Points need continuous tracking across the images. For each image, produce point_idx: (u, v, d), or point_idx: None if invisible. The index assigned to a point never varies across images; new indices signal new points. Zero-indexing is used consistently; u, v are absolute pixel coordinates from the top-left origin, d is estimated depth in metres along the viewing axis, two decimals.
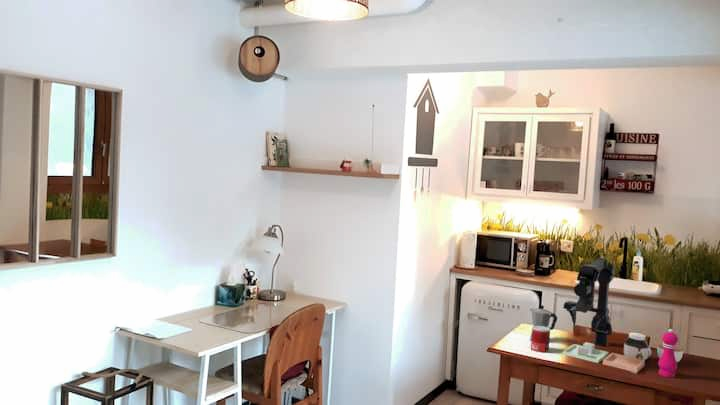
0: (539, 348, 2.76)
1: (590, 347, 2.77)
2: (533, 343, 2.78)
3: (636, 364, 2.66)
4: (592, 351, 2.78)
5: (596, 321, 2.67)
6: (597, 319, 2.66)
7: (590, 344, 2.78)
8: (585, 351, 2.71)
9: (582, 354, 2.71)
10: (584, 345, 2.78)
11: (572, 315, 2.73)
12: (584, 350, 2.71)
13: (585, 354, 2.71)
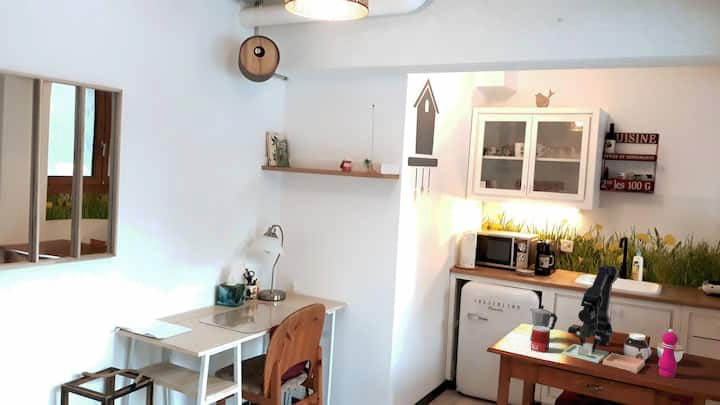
0: (539, 348, 2.76)
1: (590, 347, 2.77)
2: (533, 343, 2.78)
3: (636, 364, 2.66)
4: None
5: (594, 344, 2.76)
6: (595, 342, 2.76)
7: (590, 344, 2.78)
8: (585, 351, 2.71)
9: (582, 354, 2.71)
10: (584, 345, 2.78)
11: (581, 340, 2.80)
12: (584, 350, 2.71)
13: (585, 354, 2.71)
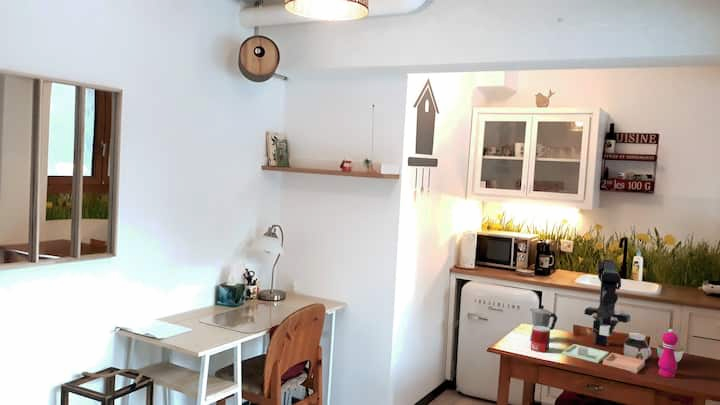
0: (539, 348, 2.76)
1: (607, 329, 2.70)
2: (533, 343, 2.78)
3: (636, 364, 2.66)
4: (609, 333, 2.71)
5: (611, 326, 2.70)
6: (612, 324, 2.69)
7: (607, 326, 2.72)
8: (585, 351, 2.71)
9: (582, 354, 2.71)
10: (601, 327, 2.72)
11: (598, 322, 2.73)
12: (584, 350, 2.71)
13: (585, 354, 2.71)
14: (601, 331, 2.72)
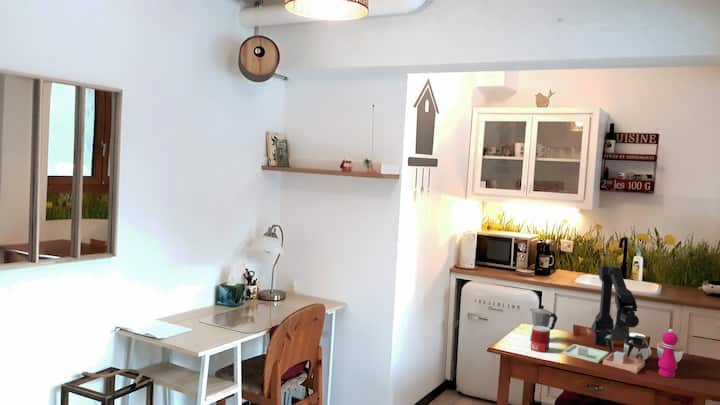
0: (539, 348, 2.76)
1: (621, 356, 2.66)
2: (533, 343, 2.78)
3: (636, 364, 2.66)
4: (623, 360, 2.67)
5: (629, 349, 2.64)
6: (630, 347, 2.64)
7: (621, 353, 2.68)
8: (585, 351, 2.71)
9: (582, 354, 2.71)
10: (615, 354, 2.67)
11: (610, 343, 2.69)
12: (584, 350, 2.71)
13: (585, 354, 2.71)
14: (615, 358, 2.67)
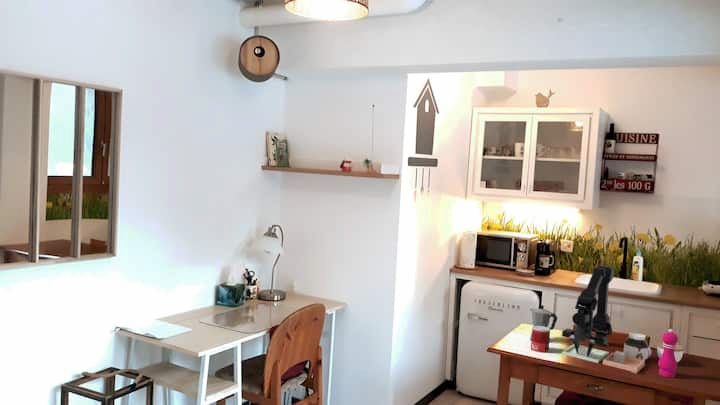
0: (539, 348, 2.76)
1: (621, 356, 2.66)
2: (533, 343, 2.78)
3: (636, 364, 2.66)
4: (623, 360, 2.67)
5: (589, 348, 2.70)
6: (590, 346, 2.69)
7: (621, 353, 2.68)
8: (585, 351, 2.70)
9: (582, 354, 2.71)
10: (615, 354, 2.67)
11: (575, 344, 2.73)
12: (584, 350, 2.71)
13: (585, 354, 2.71)
14: (615, 358, 2.67)
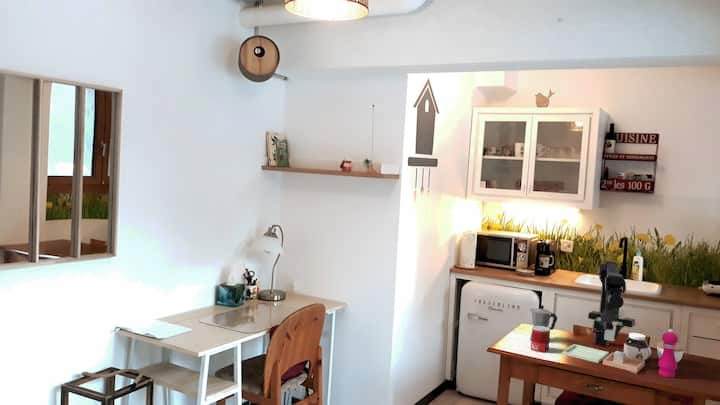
0: (539, 348, 2.76)
1: (621, 356, 2.66)
2: (533, 343, 2.78)
3: (636, 364, 2.66)
4: (623, 360, 2.67)
5: (616, 331, 2.62)
6: (617, 329, 2.62)
7: (621, 353, 2.68)
8: (612, 334, 2.63)
9: (609, 337, 2.63)
10: (615, 354, 2.67)
11: (602, 327, 2.66)
12: (611, 333, 2.63)
13: (612, 337, 2.63)
14: (615, 358, 2.67)
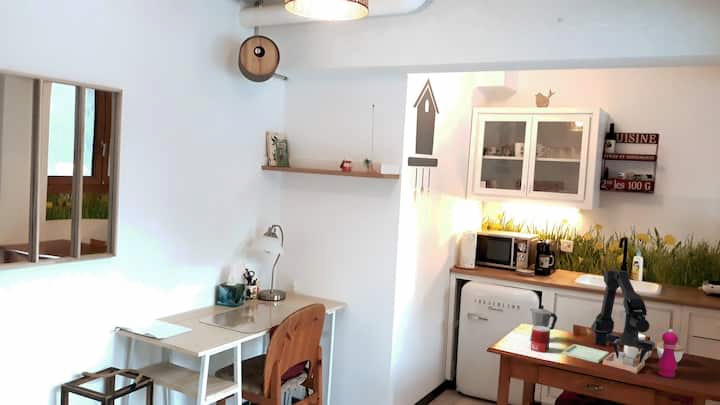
0: (539, 348, 2.76)
1: (621, 356, 2.66)
2: (533, 343, 2.78)
3: (636, 364, 2.66)
4: None
5: (641, 355, 2.57)
6: (643, 353, 2.56)
7: (621, 353, 2.68)
8: (631, 362, 2.59)
9: None
10: (615, 354, 2.67)
11: (615, 348, 2.63)
12: (630, 361, 2.59)
13: (631, 365, 2.59)
14: (615, 358, 2.67)
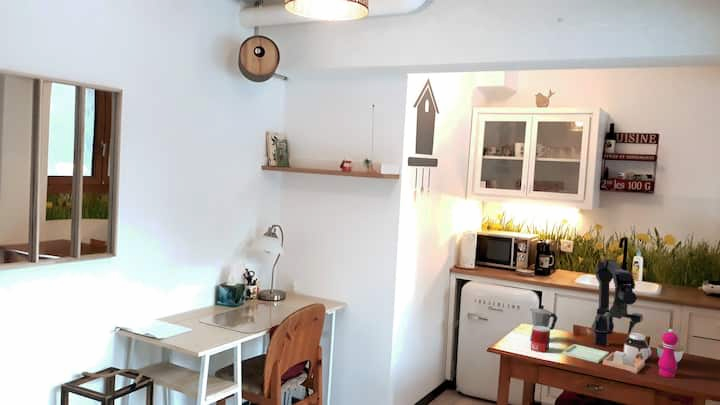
0: (539, 348, 2.76)
1: (621, 356, 2.66)
2: (533, 343, 2.78)
3: (636, 364, 2.66)
4: None
5: (630, 327, 2.67)
6: (631, 325, 2.67)
7: (621, 353, 2.68)
8: (631, 362, 2.59)
9: None
10: (615, 354, 2.67)
11: (605, 321, 2.74)
12: (630, 361, 2.59)
13: (631, 365, 2.59)
14: (615, 358, 2.67)
